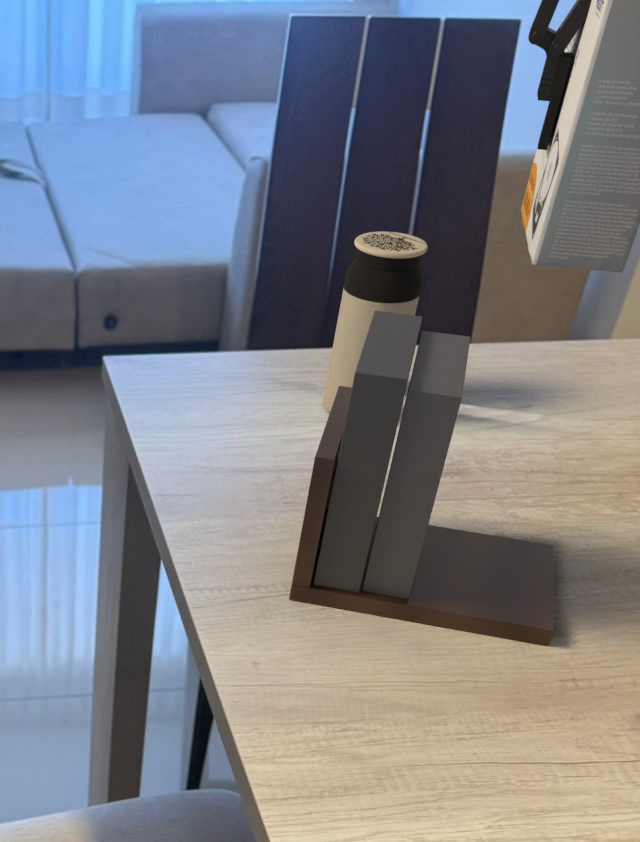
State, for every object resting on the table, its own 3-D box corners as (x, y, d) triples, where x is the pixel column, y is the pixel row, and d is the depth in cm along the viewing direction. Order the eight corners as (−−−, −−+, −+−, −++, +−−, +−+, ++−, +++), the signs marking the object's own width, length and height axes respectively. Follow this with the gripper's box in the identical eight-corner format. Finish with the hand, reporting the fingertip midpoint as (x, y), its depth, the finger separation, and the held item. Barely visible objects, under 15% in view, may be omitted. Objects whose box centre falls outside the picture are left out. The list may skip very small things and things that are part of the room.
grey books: (421, 525, 109) (474, 322, 96) (408, 602, 99) (465, 387, 87) (334, 511, 111) (374, 310, 98) (312, 585, 101) (354, 372, 88)
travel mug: (353, 429, 128) (388, 258, 116) (307, 403, 133) (336, 236, 121) (407, 415, 131) (447, 247, 119) (360, 389, 136) (394, 226, 124)
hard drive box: (516, 213, 107) (589, -52, 94) (603, 220, 106) (689, -48, 92) (529, 266, 96) (613, -26, 83) (626, 275, 95) (727, -20, 81)
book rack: (548, 558, 108) (597, 420, 99) (548, 646, 97) (602, 500, 88) (313, 520, 113) (339, 385, 104) (288, 599, 102) (314, 457, 93)
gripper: (550, -216, 81) (464, 149, 96) (880, -208, 76) (734, 175, 91) (553, -218, 86) (471, 128, 101) (862, -211, 81) (726, 152, 96)
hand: (595, 150), depth 96 cm, fingers closed on hard drive box, 8 cm apart
